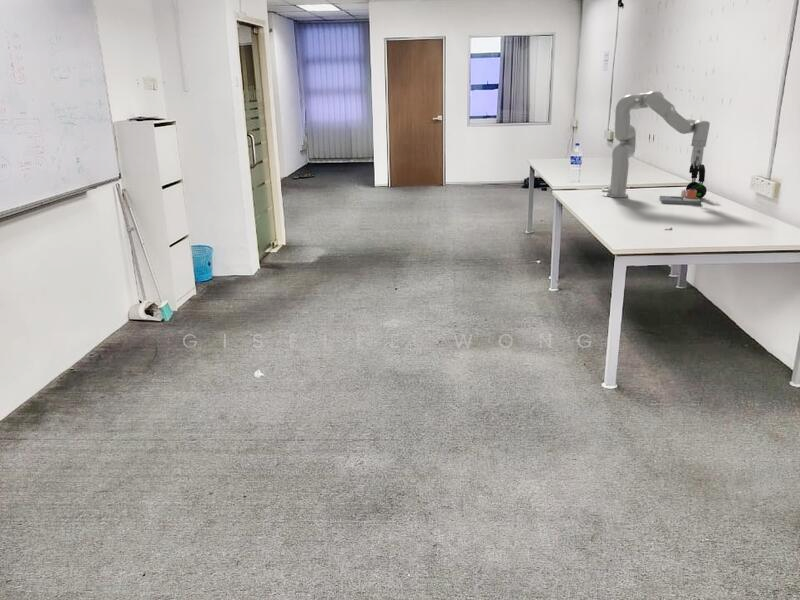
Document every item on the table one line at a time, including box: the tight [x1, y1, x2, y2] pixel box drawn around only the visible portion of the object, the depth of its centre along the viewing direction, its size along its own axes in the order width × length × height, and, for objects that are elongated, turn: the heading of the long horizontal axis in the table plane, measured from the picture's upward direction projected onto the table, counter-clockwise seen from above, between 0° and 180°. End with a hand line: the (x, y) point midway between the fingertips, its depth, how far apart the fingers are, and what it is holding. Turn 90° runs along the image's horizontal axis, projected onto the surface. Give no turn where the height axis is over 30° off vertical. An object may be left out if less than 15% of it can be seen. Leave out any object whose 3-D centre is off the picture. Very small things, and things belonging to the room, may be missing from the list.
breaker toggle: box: [680, 189, 687, 198], centre depth 373 cm, size 2×4×4 cm, turn 163°
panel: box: [659, 195, 702, 206], centre depth 371 cm, size 21×15×3 cm
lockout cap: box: [686, 189, 697, 199], centre depth 366 cm, size 4×4×6 cm
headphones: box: [685, 164, 708, 199], centre depth 381 cm, size 9×16×20 cm, turn 173°
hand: (693, 174), depth 362 cm, fingers open, 9 cm apart
